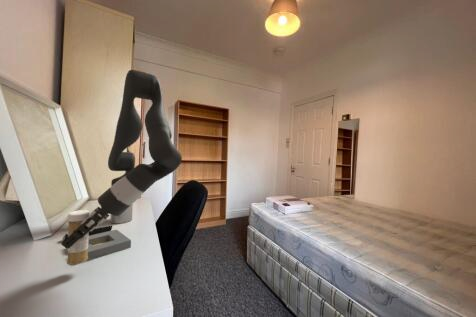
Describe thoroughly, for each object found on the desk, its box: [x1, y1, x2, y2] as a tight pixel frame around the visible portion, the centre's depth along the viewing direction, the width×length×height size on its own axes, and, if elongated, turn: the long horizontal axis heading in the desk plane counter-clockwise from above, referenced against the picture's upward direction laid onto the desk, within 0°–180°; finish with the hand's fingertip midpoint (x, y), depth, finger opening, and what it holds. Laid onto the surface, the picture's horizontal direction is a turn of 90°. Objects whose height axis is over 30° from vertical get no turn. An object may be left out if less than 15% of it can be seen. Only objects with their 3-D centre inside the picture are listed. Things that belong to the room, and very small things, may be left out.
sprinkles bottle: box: [66, 209, 91, 266], centre depth 53 cm, size 5×5×13 cm
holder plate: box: [85, 229, 132, 262], centre depth 68 cm, size 14×14×2 cm
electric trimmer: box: [61, 225, 113, 243], centre depth 77 cm, size 4×16×3 cm, turn 134°
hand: (69, 241), depth 52 cm, fingers closed on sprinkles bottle, 4 cm apart
